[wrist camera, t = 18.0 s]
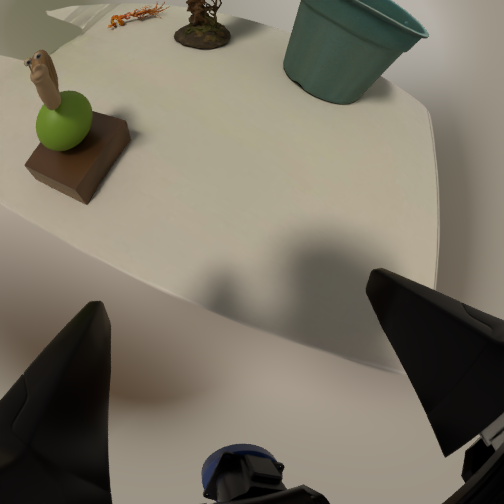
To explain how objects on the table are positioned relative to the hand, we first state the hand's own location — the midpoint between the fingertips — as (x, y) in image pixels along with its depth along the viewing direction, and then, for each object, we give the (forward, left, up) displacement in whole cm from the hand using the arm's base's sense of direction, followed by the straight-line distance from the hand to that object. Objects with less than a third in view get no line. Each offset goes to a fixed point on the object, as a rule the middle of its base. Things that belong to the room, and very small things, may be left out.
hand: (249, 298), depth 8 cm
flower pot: (+35, -1, -14) cm, 37 cm away
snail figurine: (+8, +18, -11) cm, 23 cm away
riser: (+8, +19, -14) cm, 24 cm away
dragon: (+37, +33, -14) cm, 51 cm away
